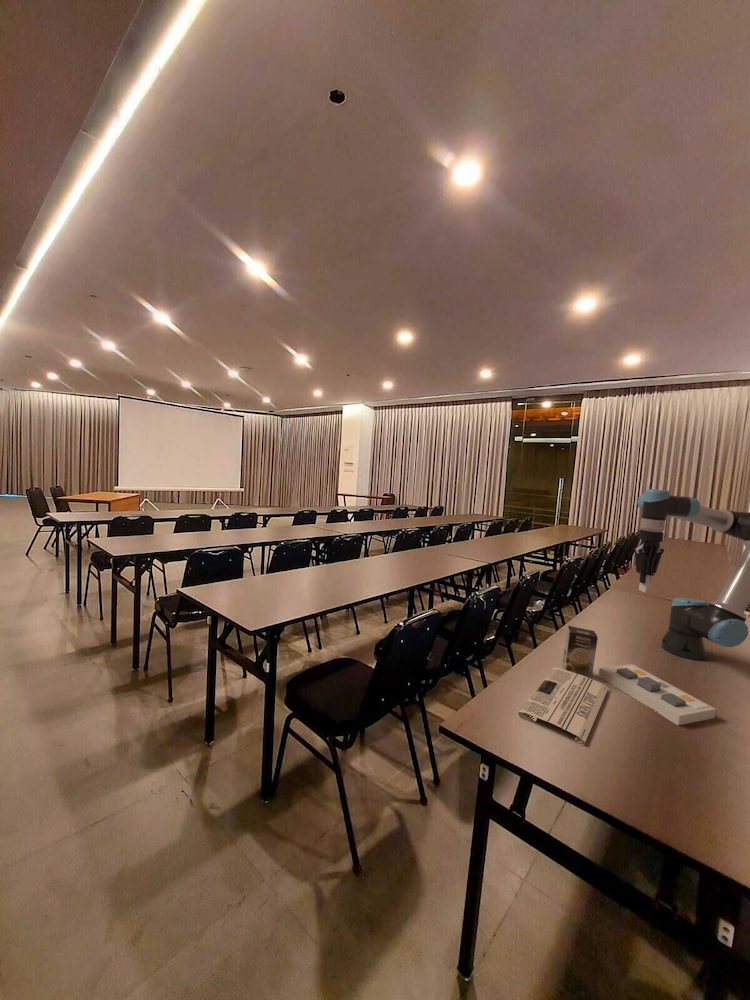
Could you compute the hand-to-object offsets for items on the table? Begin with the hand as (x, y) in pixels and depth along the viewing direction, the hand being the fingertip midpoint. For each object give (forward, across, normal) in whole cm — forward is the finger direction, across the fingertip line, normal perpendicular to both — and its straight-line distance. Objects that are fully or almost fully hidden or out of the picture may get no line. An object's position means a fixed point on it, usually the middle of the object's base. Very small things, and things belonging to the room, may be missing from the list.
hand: (643, 591), depth 153 cm
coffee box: (+30, -29, -1) cm, 41 cm away
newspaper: (+30, -47, -16) cm, 58 cm away
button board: (+29, -14, -18) cm, 37 cm away
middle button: (+27, -16, -18) cm, 36 cm away
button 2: (+28, -16, -26) cm, 42 cm away
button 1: (+28, -16, -10) cm, 34 cm away
